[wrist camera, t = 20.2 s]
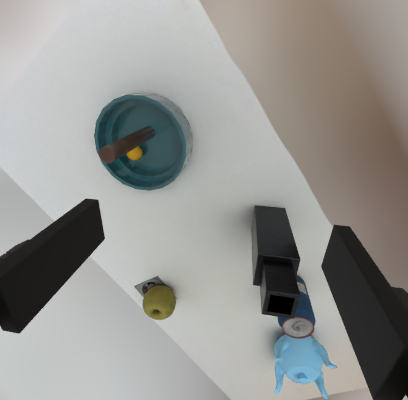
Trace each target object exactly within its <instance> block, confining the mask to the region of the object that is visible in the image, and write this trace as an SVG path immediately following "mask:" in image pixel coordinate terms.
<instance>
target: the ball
mask: <svg viewBox="0 0 408 400" xmlns="http://www.w3.org/2000/svg"><path fill="white" fill-rule="evenodd" d="M126 154H127V156H128V158H129V159H131V160H139V159H140V158H141V157H142V154H143V151H142V149H141V147H140V146H138V147H136V148H135V149H133V150H131V151H130V152H128V153H126Z"/></svg>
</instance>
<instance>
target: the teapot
mask: <svg viewBox="0 0 408 400" xmlns="http://www.w3.org/2000/svg"><path fill="white" fill-rule="evenodd" d="M274 352H275V356H276V358H274V359H273V360H274V361H276V364H275V373H276V379H277V385H276V389H275V391H274V393H275V394H277V393H278V392H279V391H280V390H281V388H282V384H283V376H284V373H285V374H286V375H287V377H288V378H289V379H291V380H292V381H294V382H296V383H301V384H307V383H311V382H313V381H315V382H316V384H317V386H318V388H319V390H320V392H321V394H322V396H323V397H324V398H325V399H327V400H329V397H328V395H327V393H326V390H325V387H324V380H323V373H322V370H321V368H322V364H323V362H324V364H325V365H326V366H327V367H329V368H337V366H335V365H333V364H332V363H331V362H330V361H329V358H328V354H327V351H326V350H325V348H324V347H323V346H322V345H321V344H320V343H318V342H317V341H316V340H315V339H313V338H312V337H310V336H309V337H307V338H302V339H296V338H291V337H289V336H287V335H286V334H285V335H284V336H282V337H279V338H278V341H277V342H276V344H275V347H274Z"/></svg>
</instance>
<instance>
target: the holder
mask: <svg viewBox="0 0 408 400" xmlns="http://www.w3.org/2000/svg"><path fill="white" fill-rule="evenodd" d="M251 235H252V266H253V285H257V286H260V294H261V309H262V314H265V315H272V316H279V317H285V318H292V319H294V318H295V314H296V311H297V307H298V303H299V300H300V296H301V295H300V291H299V287H298V283H297V279H296V275H297V271H298V267H299V263H300V257H299V253H298V250H297V247H296V243H295V240H294V237H293V233H292V230H291V227H290V223H289V220H288V217H287V213H286V210H285V208H276V207H266V206H255V207H254V214H253V222H252V229H251Z"/></svg>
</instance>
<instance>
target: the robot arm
mask: <svg viewBox="0 0 408 400" xmlns="http://www.w3.org/2000/svg"><path fill="white" fill-rule="evenodd" d="M104 239H105V237H104V231H103V225H102V219H101V214H100V208H99V202H98V200H95V199H85V200H83V201H82V202H81V203H79V204H78V205H77V206H75V207H74V208H73V209H71V210H70V211H68V212H67V213H66V214H64V215H63V216H62V217H60V218H59V219H58V220H56V221H55V222H53V223H52V224H51V225H49V226H48V227H47V228H45V229H44V230H43V231H41V232H40V233H38V234H37V235H36V236H34V237H33V238H32V239H30V240H27V241H24V242H22V243H20V244H18V245H16V246H14V247H13V248H12V249H10V250H9V251H7V252H6V254H3V255H2V256H0V326H1V328H2V330H4V331H9V332H14V333H20V332H21V331H22V330H23V329H24V328H25V327H26V326H27V325H28V323H29V322H30V321H31V320H32V319H33V318H34V317H35V316H36V314H38V312H39V311H40V310H41V309H42V308H43V307H44V306H45V305H46V303H47V302H48V301H49V300H50V299H51V298H52V297H53V296H54V294H56V292H57V291H58V290H59V289H60V288H61V287H62V286H63V285H64V283H65V282H66V281H67V280H68V279H69V278H70V277H71V276H72V275H73V273H74V272H75V271H76V270H77V269H78V268H79V267H80V266H81V265H82V264H83V263H84V261H85V260H86V259H87V258H88V257H89V256H90V255H91V254H92V253H93V251H94V250H95V249H96V248H97V247H98V246H99V245H100V244H101V243H102V241H103V240H104ZM321 267H322V269H323V272H324V275H325V277H326V280H327V282H328V285H329V287H330V290H331V293H332V295H333V298H334V300H335V303H336V305H337V308H338V311H339V313H340V316H341V318H342V321H343V323H344V326H345V329H346V331H347V334H348V336H349V339H350V341H351V344H352V347H353V349H354V352H355V354H356V357H357V359H358V362H359V365H360V367H361V370H362V372H363V375H364V377H365V380H366V383H367V385H368V388H369V390H370V393H371V395H372V398H373V400H402V399H403V398H404V396H405V395H406V396H407V398H408V293H407V292H406V291H405V290H403V289H402V288H395V287H391V286H390V284H389V283H388V282H387V280H386V279H385V277H384V276H383V274H382V273H381V271H380V270H379V269H378V267H377V266H376V264H375V263H374V261H373V260H372V258H371V257H370V255H369V254H368V252H367V251H366V250H365V248H364V247H363V245H362V244H361V242H360V241H359V239H358V238H357V236H356V235H355V234H354V232H353V231H352V229H351V228H350V227H349V226H339V225H334V227H333V230H332V233H331V236H330V240H329V243H328V246H327V249H326V253H325V256H324V259H323V263H322V266H321Z"/></svg>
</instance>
